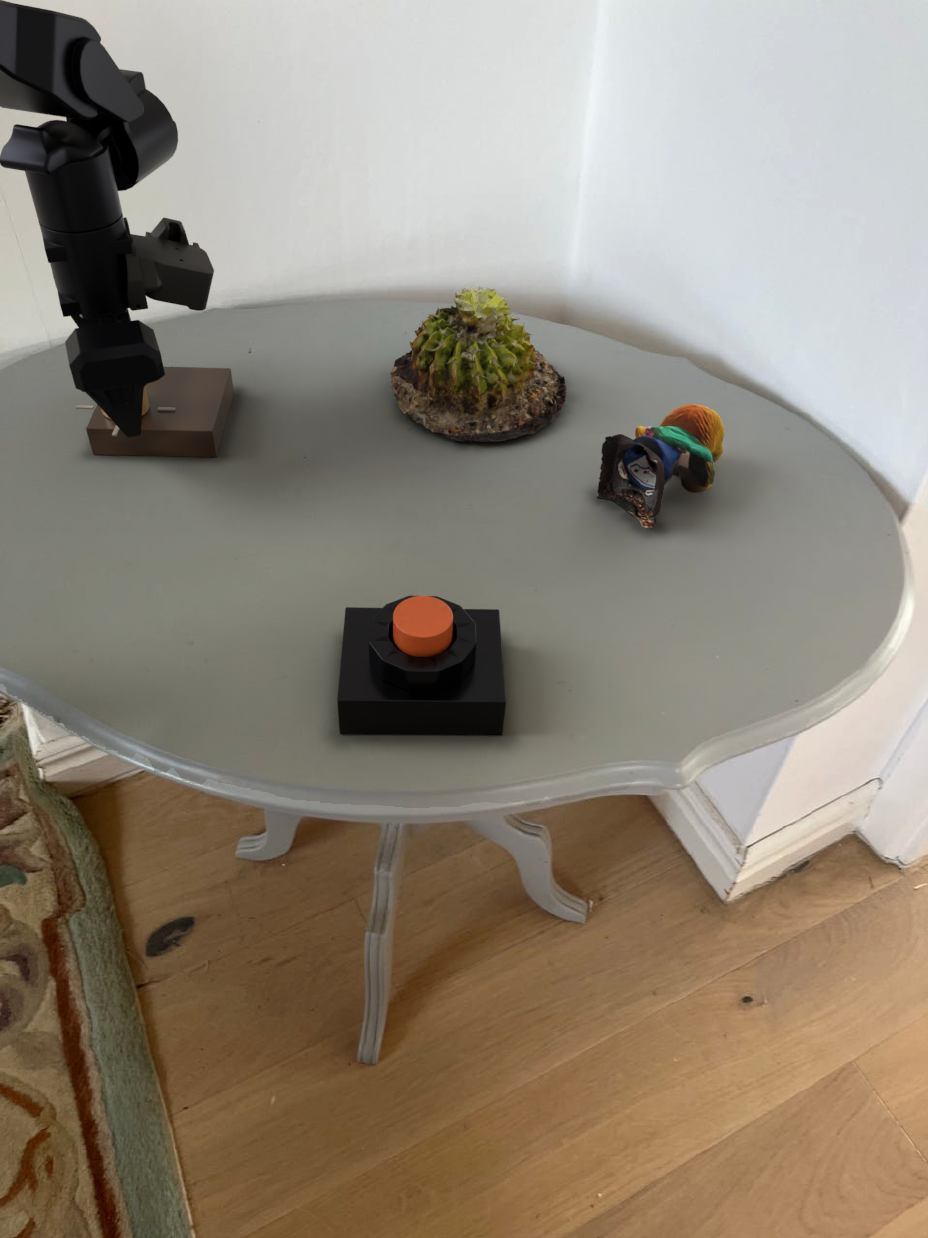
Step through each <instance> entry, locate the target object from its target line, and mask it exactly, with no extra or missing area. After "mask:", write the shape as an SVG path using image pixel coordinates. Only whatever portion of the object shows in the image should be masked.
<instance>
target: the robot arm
mask: <svg viewBox="0 0 928 1238" xmlns="http://www.w3.org/2000/svg"><path fill="white" fill-rule="evenodd" d="M101 42H102V37H101V35H100V33H99V32H98V31H97V29H96V28H95V26H94V25H93V24H91V22H90V21H88V19H85V18H83V17H80V16H75V15H71V14H69V13H68V14H67V13H65V12H60V11H55V10H52V9H46V8H40V7H36V6H30V5H25V4H20V3H15V2H11V1H6V0H0V108H2V109H9V110H14V111H15V110H16V111H21V112H28V113H35V114H42V115H49V116H53V117H54V116H55V117H60V118H61V117H62V118H65V120H62V119H52V120H48V121H45V122H43V123H41V124H39V125H38V126H31V125H25V124H24V125H23V124H17V123H16V124H14V125H13V127H12V132H11V135H10V138H9V139H8V141H7V142H6V143H5V144H4V145H3V147H2V149H1V151H0V166H1V167H2V168H5V169H10V170H16V171H23V172H25V174H24V175H25V177H26V181H27V184H28V187H29V191H30V196H31V199H32V202H33V206H34V209H35V213H36V216H37V220H38V225H39V228H40V232H41V237H42V242H43V248H44V252H45V255H46V258H47V263H48V264H50V268H51V274H52V277H53V281H54V284H55V287H56V290H57V296H58V301H59V307H60V310H61V313H62V317H63V318H66V317H71V319H72V320H73V322H74V324H75V325H76V326H77V327H76V328H74V329H73V331H72V332H71V333H70V334H69V336H68V337H67V339H66V340H65V341H64V344H65V345H64V346H65V349H66V356H67V361H68V366H69V369H70V372H71V376H72V377H71V378H72V380H73V384H74V387H75V389H76V390H79V391H80V392H82V393H85V394H86V395H87V396H89V398H90V399H91V400H92V401H93V402H94V403H95V404H96V406H97V405H98V406H99V407H100V408H101V409H102V410H103V411H104V412H105V413H106V414H107V415H108V416H109V418H110V419H111V420H112V421H113V422H114V423H115V424H116V425H117V427H118V428H119V429H120V430H121V431H122V432H123V433H124V434H125V435H126V436H127V437H135V436H139V435H141V425H142V405H143V391H144V387H145V386H146V385H147V384H148V383H152V382H155V381H157V380H159V379H161V378H162V377H163V376H164V375H165V372H164V367H165V366H164V363H163V358H162V354H161V353H162V352H161V349H160V347H159V343H158V340H157V337H156V334H155V330H154V329H153V328H152V327H150V326H149V325H147V324H145V323H144V322H142V321H141V320H139V319H135V320H132V319H131V315H130V311H132V312H134V311H141V310H148V309H149V305H148V301H147V298H148V299H151V300H153V301H157V302H162V303H166V304H167V303H168V304H172V305H178V306H183V307H187V308H188V309H189V310H192V311H197V312H199V311H201V312H202V311H205V310H206V309H207V305H208V300H209V296H210V292H211V291H210V290H211V287H212V282H213V277H214V273H215V269H214V266H213V264H212V262H211V260H210V257H209V255H208V253H207V251H205V250H204V249H203V248H201V247H200V245H199V243H198V242H195V241H193V242H192V244H190V242H189V239H188V237H187V232H186V230H185V227H184V225H183V222H182V221H180V220H177V219H173V218H168V217H162V219H160V221H159V222H158V223H157V224H156V226H155V227H154V228H153V230H152V231H151V232H149V231H146V232H145V234H144V235H139V234H133V233H131V230H130V225H129V221H128V218H127V217H126V216H125V217H124V213H123V210H122V209H123V208H122V204H121V200H120V195H119V192H125V191H127V190H130V189H132V188H134V187H135V186H137V185H138V184H139V183H140V182H142V181H143V180H144V179H145V178H147V177H149V176H150V175H151V174H152V173H154V172H155V171H157V170H158V169H159V168H161V167H162V166H163V165H165V164H166V163H167V162H168V161H170V160H171V159H172V158H173V157H174V155H175V153H176V151H177V148H178V143H179V131H178V126H177V123H176V121H175V120H174V119H173V117H172V114H171V112H170V111H169V109H168V107H166V105H165V103H163V101H162V100H161V99H160V98H159V97H158V96H157V95H155V94H154V93H153V92H151V91H150V90H149V89H147V87H146V81H145V76H144V73H143V72H142V71H137V70H129V69H123V68H119V67H118V65H117V64H116V62H115V61H114V60H113V58H112V56H111V55H110V53H109V52H108V50H107V49H106V47H105V46H104V45H103V44H102V43H101ZM129 309H130V311H129Z"/></svg>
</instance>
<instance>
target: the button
mask: <svg viewBox="0 0 928 1238" xmlns="http://www.w3.org/2000/svg"><path fill="white" fill-rule="evenodd" d="M414 596H415V597H411V598H408V599H406V600H404V601H402V602H401V603H400V604H399V605H398V606H397V607H396V608H395V610H394V613H393V639H394V642H395V644H396V645H397V647H398V648H399V649H400V650H401V651H403V652H404V653H406V654H409V655H411V656H415V657H431V656H435V655H437V654H440V653H441V652H443V651H444V650H446V649H447V648H448V646H449V645H450V643H451V641H452V630H453V613H452V611H451V609H450V607H449V606H448V605H447V604H446V603H445V602H443V601H442V600H440V599H437V598H434V597H430V596H431V595H414Z"/></svg>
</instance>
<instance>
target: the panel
mask: <svg viewBox="0 0 928 1238" xmlns="http://www.w3.org/2000/svg"><path fill="white" fill-rule="evenodd" d="M163 367H164V372H165V375H164V376H163V377H162V378H161V379H159V380H157V381H155V382H152V383H148V384H147V385H146V390H147V395H148V400H149V405H150V407H149V410H148V411H147V412H146V413H145V414H144V415H143V416H142V425H141V435H139V436H135V437H127V436H126V435H125V434H124V433H123V432H122V431H121V430H120V429H119V428H118V427H117V425H116V424H115V423H114V422H113V421H112V420H111V419H109V418H107V417H105V416H104V415H103V413H102V411H101V408H100V407H99V406H98V405H97V404H96V407H95V405H92V404H91V405H88V404H85V405H84V404H76V405H75V410H93V412H92V415H91V417H90V419H89V421H88V423H87V425H86V427H85V430H86V433H87V438H88V441H89V445H90V448H91V453H92V455H95V456H96V455H99V456H101V455H102V456H106V455H107V456H144V457H145V456H150V457H189V458H190V457H193V458H194V457H195V458H217V457H218V452H219V448H220V445H221V442H222V438H223V434H224V431H225V427H226V424H227V420H228V417H229V412H230V409H231V406H232V402H233V398H234V395H235V390H234V382H233V376H232V369H231V368H230V367H199V366H198V367H195V366H194V367H192V366H190V367H189V366H163Z"/></svg>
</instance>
